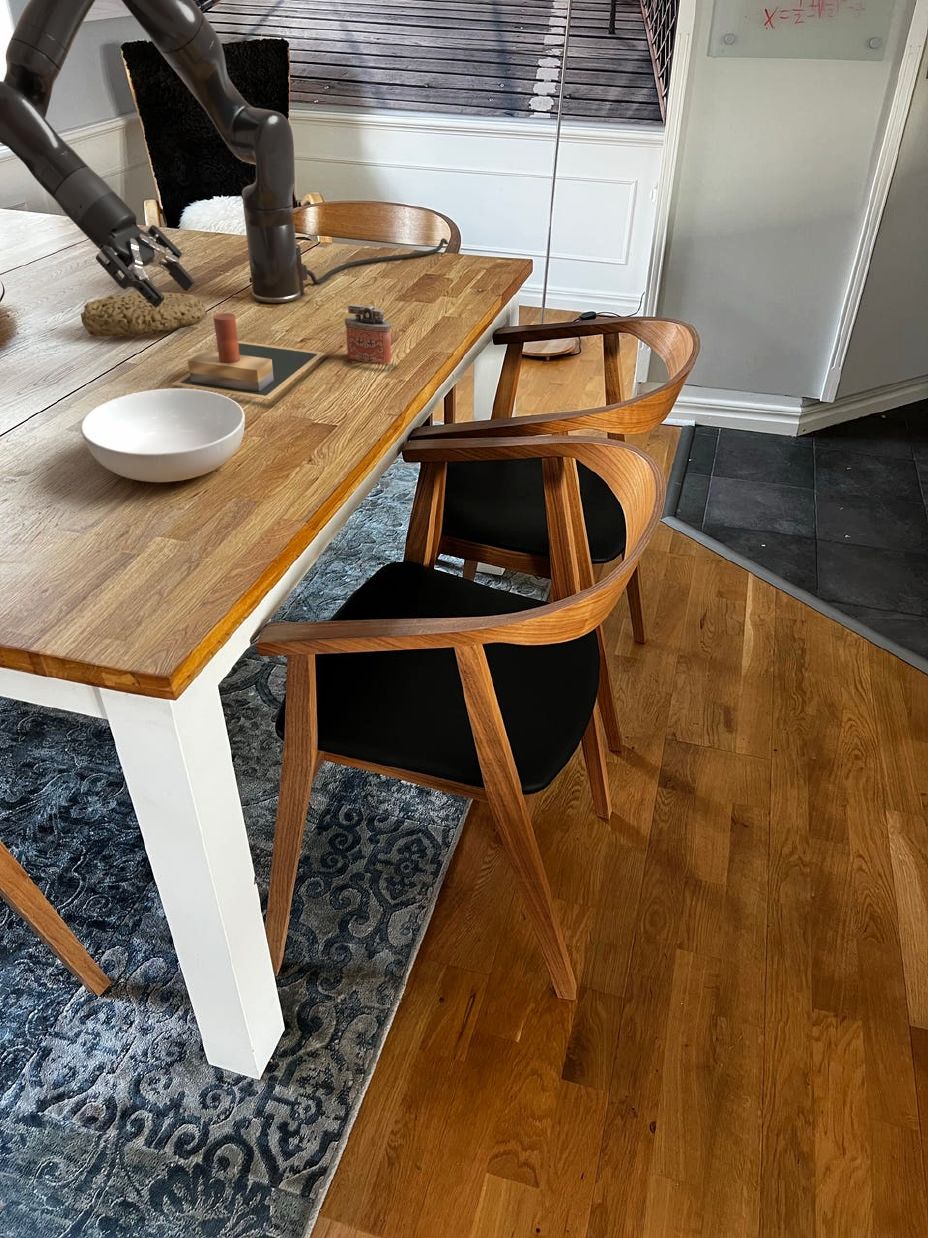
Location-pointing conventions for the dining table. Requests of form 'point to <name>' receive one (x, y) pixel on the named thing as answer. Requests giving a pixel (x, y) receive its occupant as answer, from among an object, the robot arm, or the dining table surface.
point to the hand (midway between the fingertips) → (176, 294)
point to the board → (283, 363)
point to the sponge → (141, 314)
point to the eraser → (230, 361)
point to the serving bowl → (164, 433)
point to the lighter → (368, 335)
